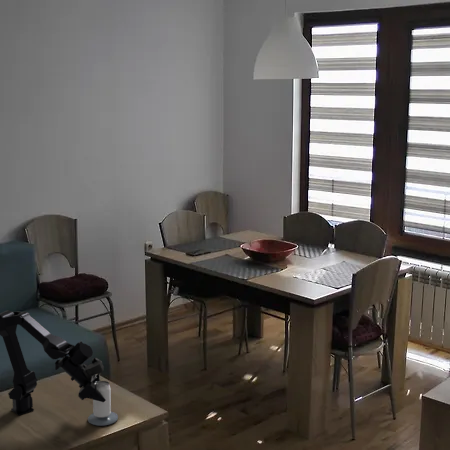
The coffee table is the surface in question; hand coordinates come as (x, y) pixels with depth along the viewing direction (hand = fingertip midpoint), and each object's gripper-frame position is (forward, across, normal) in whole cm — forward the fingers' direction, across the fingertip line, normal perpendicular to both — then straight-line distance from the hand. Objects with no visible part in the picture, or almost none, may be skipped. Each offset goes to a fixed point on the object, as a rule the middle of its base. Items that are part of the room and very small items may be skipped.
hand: (105, 397), depth 258 cm
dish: (+6, 0, +7) cm, 9 cm away
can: (+4, 0, +6) cm, 7 cm away
